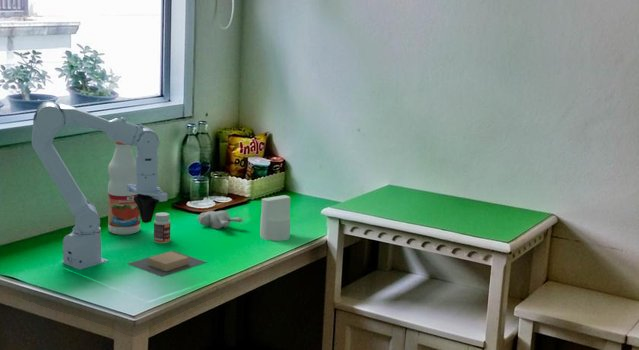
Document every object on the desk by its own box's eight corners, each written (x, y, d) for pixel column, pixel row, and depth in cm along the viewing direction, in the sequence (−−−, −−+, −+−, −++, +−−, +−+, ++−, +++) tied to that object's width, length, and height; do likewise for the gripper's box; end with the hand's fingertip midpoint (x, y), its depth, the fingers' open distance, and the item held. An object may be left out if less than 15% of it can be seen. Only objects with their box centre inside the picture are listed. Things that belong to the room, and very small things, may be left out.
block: (148, 265, 223) (165, 272, 218) (148, 257, 222) (165, 264, 218) (171, 258, 229) (188, 264, 225) (171, 251, 228) (188, 257, 224)
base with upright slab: (271, 242, 248) (272, 203, 245) (254, 234, 255) (255, 196, 252) (295, 237, 254) (297, 199, 251) (278, 230, 260) (279, 192, 258)
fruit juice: (134, 224, 259) (133, 135, 253) (144, 233, 252) (144, 141, 245) (104, 228, 255) (102, 137, 248) (114, 236, 247) (112, 143, 241)
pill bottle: (166, 245, 242) (166, 217, 240) (151, 243, 242) (151, 215, 241) (173, 240, 246) (173, 212, 244) (157, 238, 247) (157, 211, 245)
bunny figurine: (213, 207, 269) (245, 211, 259) (214, 222, 270) (246, 227, 260) (190, 212, 262) (222, 216, 252) (191, 228, 263) (223, 233, 253)
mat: (161, 278, 215) (161, 276, 215) (126, 265, 224) (126, 263, 223) (207, 263, 227) (207, 262, 227) (172, 251, 236) (172, 250, 236)
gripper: (176, 175, 223) (175, 224, 226) (141, 166, 232) (141, 213, 235) (155, 179, 217) (155, 229, 220) (120, 170, 226) (120, 218, 229)
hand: (146, 221), depth 227 cm, fingers closed
